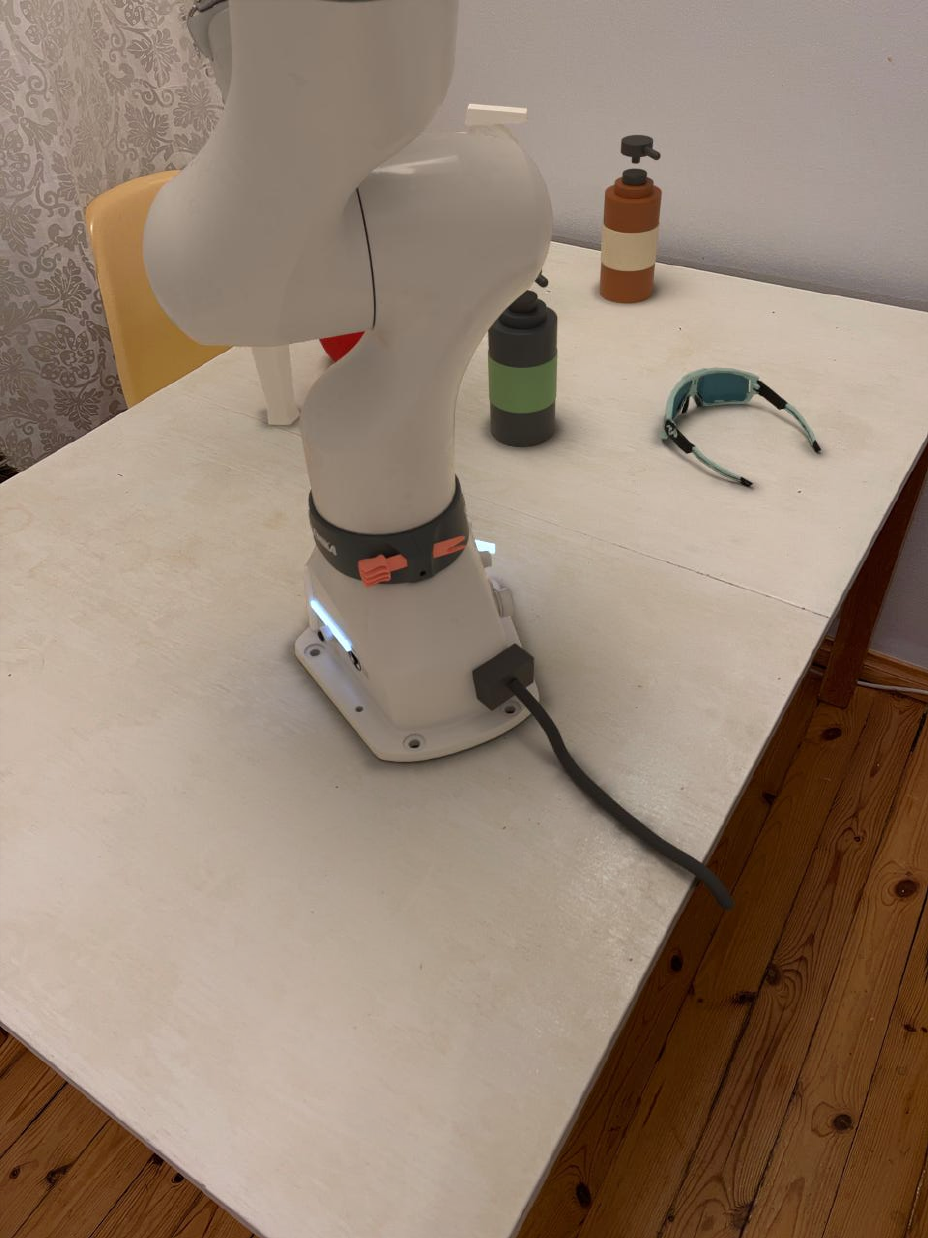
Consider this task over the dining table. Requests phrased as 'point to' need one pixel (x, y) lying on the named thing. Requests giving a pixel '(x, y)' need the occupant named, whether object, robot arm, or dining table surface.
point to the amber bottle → (630, 237)
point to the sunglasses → (719, 390)
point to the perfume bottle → (276, 383)
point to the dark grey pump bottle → (523, 372)
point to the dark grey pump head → (638, 147)
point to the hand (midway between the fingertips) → (361, 122)
